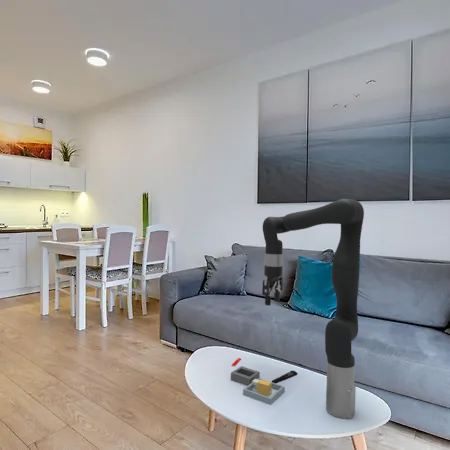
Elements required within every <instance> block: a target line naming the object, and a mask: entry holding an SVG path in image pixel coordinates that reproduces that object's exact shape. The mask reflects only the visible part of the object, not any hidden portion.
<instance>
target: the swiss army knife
mask: <svg viewBox="0 0 450 450" xmlns="http://www.w3.org/2000/svg"><path fill="white" fill-rule="evenodd" d="M240 361H242V358H240V357H238V358H236V360H235V361H234V362H233V363H232V364H231V367H236V366H237V365H238V364H239V363H240Z"/></svg>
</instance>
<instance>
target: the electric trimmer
mask: <svg viewBox="0 0 450 450" xmlns="http://www.w3.org/2000/svg"><path fill="white" fill-rule="evenodd" d="M297 375H298V372H297V371H295V370H290V371H288V372H287V373H284V374H282V375H280V376H279V377H276V378H274V379H272V380H271V382H272V383H275V384H280V383H282V382H283V381H286V380H289V379H290V378H294V377H295V376H297Z"/></svg>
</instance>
